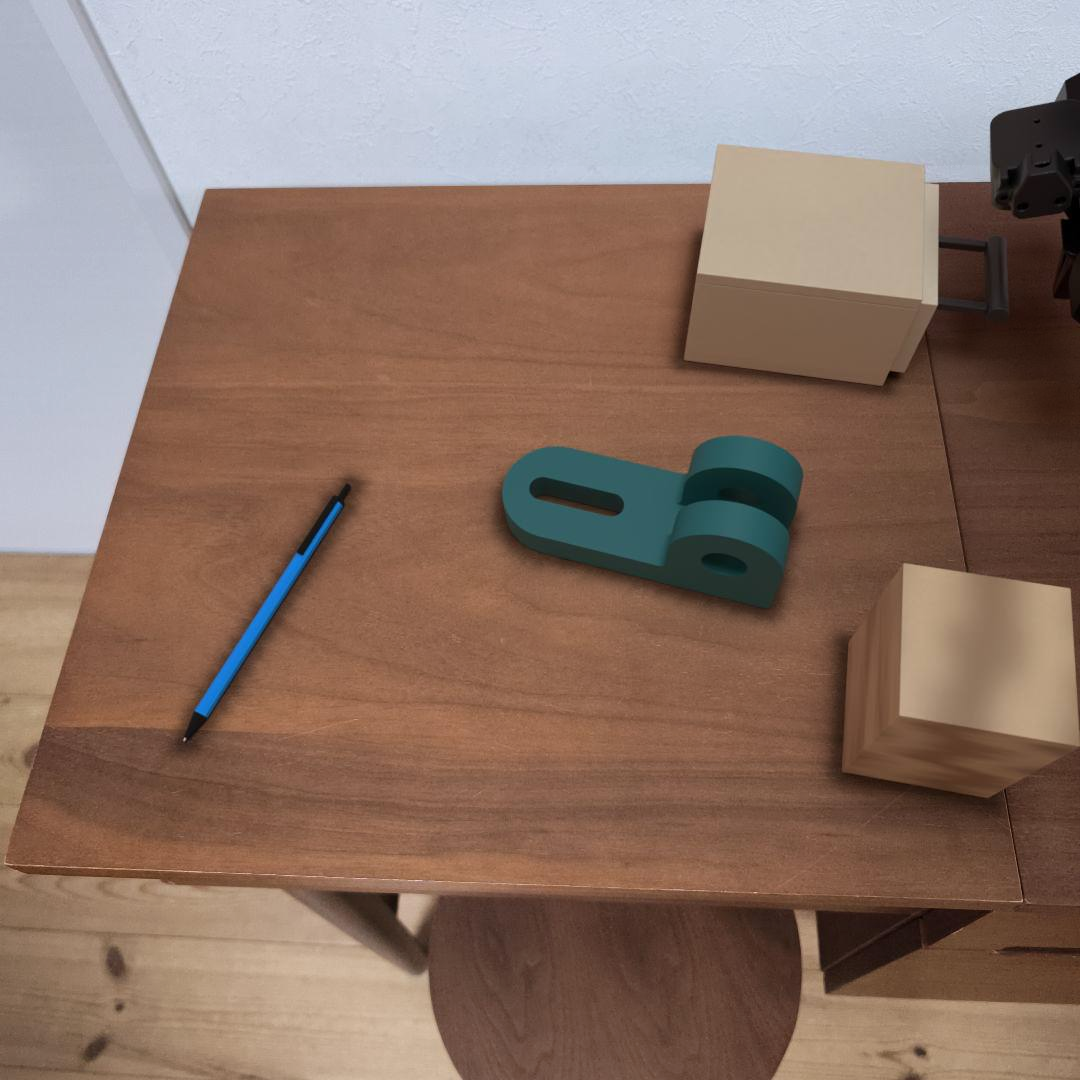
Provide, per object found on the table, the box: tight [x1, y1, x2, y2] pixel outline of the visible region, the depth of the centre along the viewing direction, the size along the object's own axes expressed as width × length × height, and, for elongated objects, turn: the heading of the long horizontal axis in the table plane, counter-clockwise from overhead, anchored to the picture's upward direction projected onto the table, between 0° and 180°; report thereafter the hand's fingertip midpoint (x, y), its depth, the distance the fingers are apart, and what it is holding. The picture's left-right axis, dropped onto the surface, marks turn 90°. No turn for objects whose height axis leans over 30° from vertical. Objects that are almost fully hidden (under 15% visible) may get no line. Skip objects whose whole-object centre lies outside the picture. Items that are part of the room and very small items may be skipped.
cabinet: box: [683, 143, 926, 387], centre depth 65 cm, size 14×12×9 cm
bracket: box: [501, 435, 804, 610], centre depth 58 cm, size 18×7×8 cm, turn 73°
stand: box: [841, 562, 1080, 799], centre depth 50 cm, size 8×8×11 cm
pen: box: [182, 483, 351, 742], centre depth 59 cm, size 1×19×1 cm, turn 155°
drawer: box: [889, 182, 1010, 374], centre depth 64 cm, size 18×11×7 cm, turn 79°
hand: (1060, 294), depth 62 cm, fingers closed
